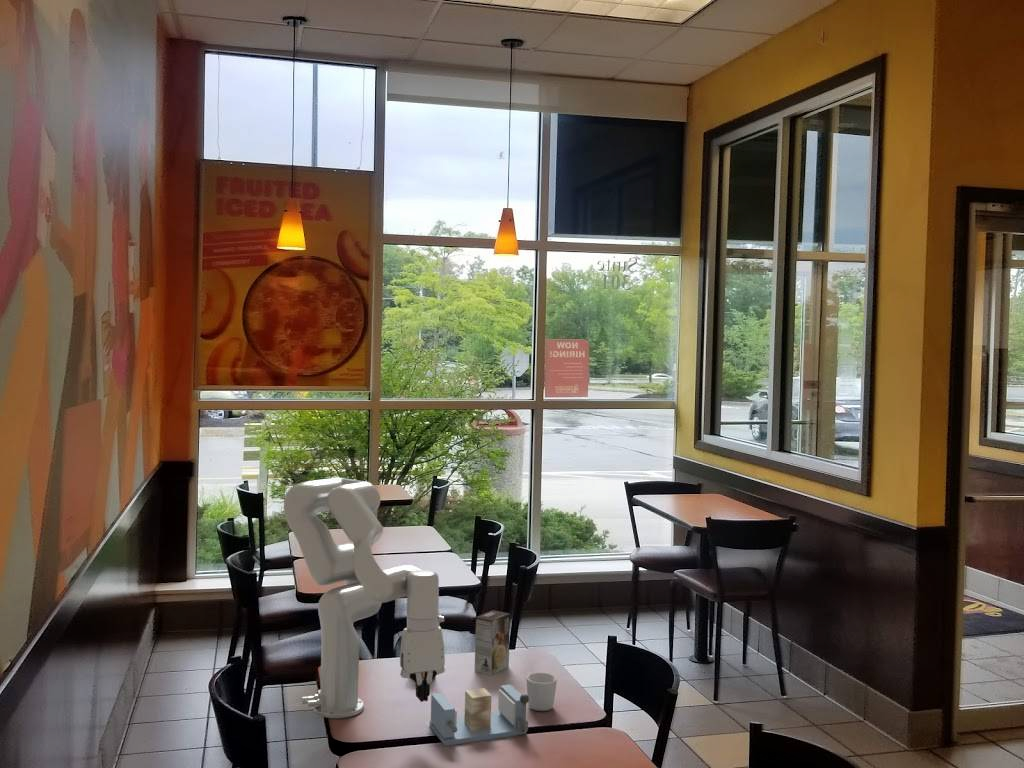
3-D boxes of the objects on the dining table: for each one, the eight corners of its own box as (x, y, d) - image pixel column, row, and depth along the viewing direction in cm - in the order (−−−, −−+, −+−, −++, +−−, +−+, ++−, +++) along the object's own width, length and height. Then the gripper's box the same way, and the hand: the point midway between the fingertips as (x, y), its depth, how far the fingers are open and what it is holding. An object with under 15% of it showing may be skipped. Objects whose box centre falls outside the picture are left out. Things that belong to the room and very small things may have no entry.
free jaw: (449, 745, 210) (450, 716, 209) (430, 721, 223) (431, 693, 223) (462, 743, 211) (463, 714, 210) (443, 719, 224) (443, 692, 224)
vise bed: (447, 749, 211) (448, 706, 210) (429, 725, 224) (430, 684, 223) (529, 737, 219) (531, 695, 218) (507, 714, 232) (509, 675, 231)
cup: (516, 700, 242) (517, 670, 241) (543, 696, 245) (544, 667, 245) (533, 715, 232) (534, 684, 231) (561, 711, 235) (562, 681, 235)
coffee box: (491, 662, 270) (493, 609, 269) (509, 667, 266) (510, 613, 266) (473, 671, 262) (475, 616, 262) (491, 676, 259) (493, 620, 258)
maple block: (471, 730, 219) (472, 697, 218) (464, 722, 223) (465, 690, 223) (490, 727, 221) (491, 695, 220) (483, 719, 225) (484, 688, 225)
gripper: (447, 615, 221) (447, 690, 222) (388, 622, 216) (388, 698, 216) (457, 624, 214) (457, 700, 215) (396, 631, 209) (396, 709, 209)
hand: (422, 699), depth 215 cm, fingers closed
